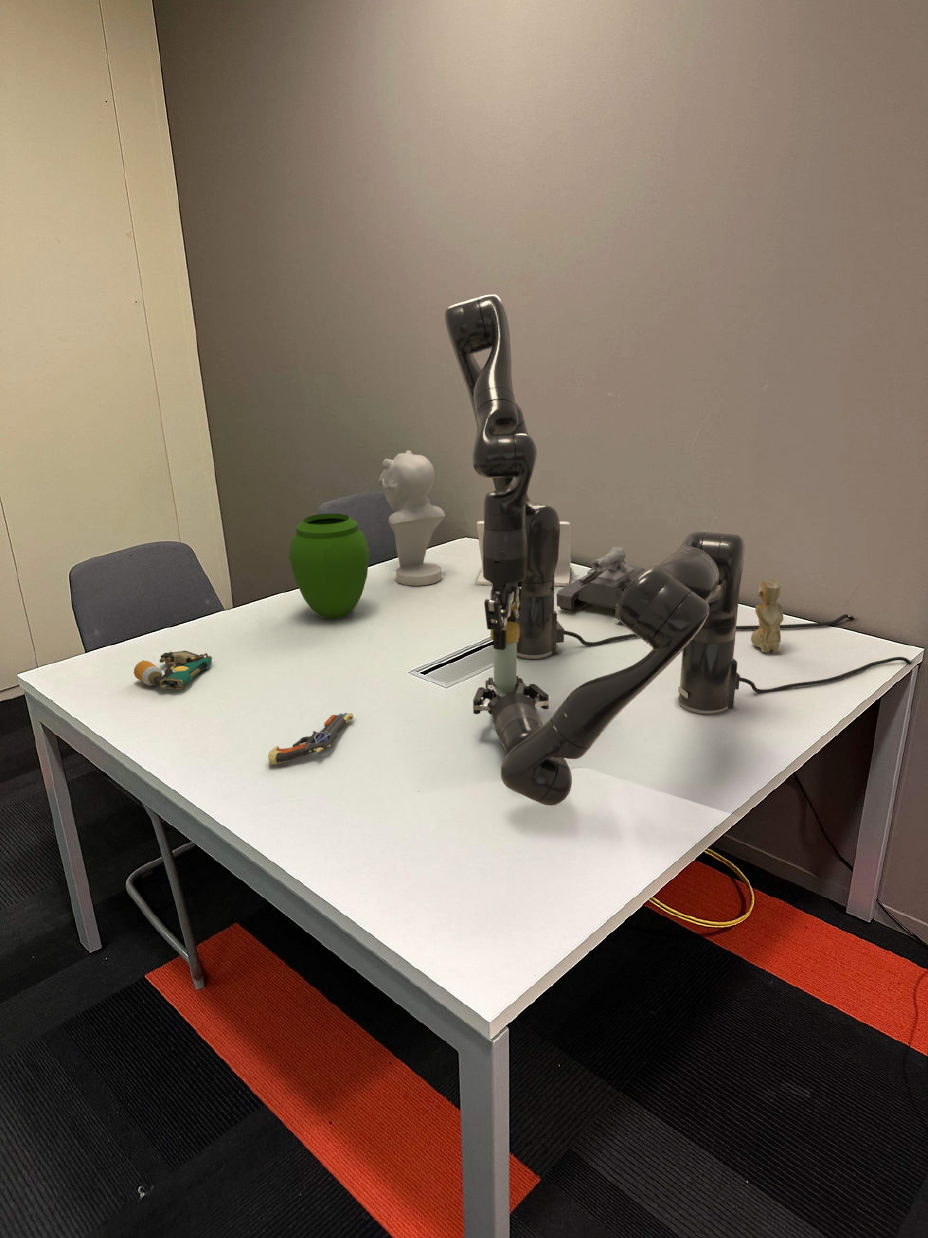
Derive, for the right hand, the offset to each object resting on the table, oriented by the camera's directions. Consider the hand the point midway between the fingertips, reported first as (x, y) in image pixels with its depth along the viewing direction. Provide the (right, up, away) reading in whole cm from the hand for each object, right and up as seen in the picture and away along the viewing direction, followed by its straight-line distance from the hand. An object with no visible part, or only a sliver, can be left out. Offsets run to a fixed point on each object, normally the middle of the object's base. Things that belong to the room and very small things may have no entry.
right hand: (502, 681), depth 158 cm
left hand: (0, +7, -6) cm, 9 cm away
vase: (-40, +13, +56) cm, 69 cm away
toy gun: (-34, -11, -6) cm, 36 cm away
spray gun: (-68, -1, +23) cm, 72 cm away
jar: (0, -7, 0) cm, 7 cm away
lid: (0, +10, -7) cm, 12 cm away
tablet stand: (+10, +24, +81) cm, 85 cm away
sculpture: (+58, +5, +27) cm, 65 cm away
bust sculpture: (-23, +23, +83) cm, 89 cm away
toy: (+31, +15, +56) cm, 66 cm away
